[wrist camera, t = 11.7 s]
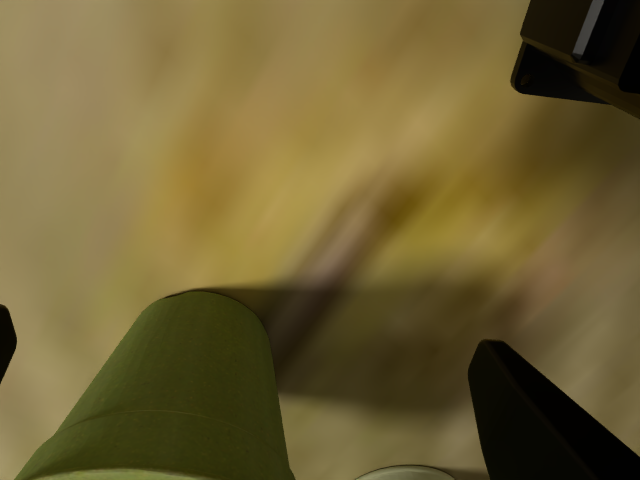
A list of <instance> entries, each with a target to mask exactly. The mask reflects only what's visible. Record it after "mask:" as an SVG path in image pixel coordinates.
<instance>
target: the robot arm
mask: <svg viewBox="0 0 640 480" xmlns="http://www.w3.org/2000/svg"><path fill="white" fill-rule="evenodd" d="M520 35H521V37H522V39H523V42H522V45H521V48H520V51H519V54H518V57H517V60H516V63H515V66H514V69H513V72H512V75H511V81H510V82H511V86H512V87H513V88H514V89H515V90H516V91H517V92H519V93H522V94H528V95H536V96H545V97H553V98H561V99H569V100H577V101H585V102H593V103H601V104H609V105H613V106H615V107H617V108H619V109H621V110H623V111H625V112H627V113H629V114H630V115H632V116H634V117H636V118H638V119H640V0H531V1H530V4H529V7H528V10H527V13H526V16H525V19H524V22H523V25H522V28H521V32H520ZM526 74H530V79H529V81H528V82H527V83H526V84H524V85H521V79H522V77H523V76H524V75H526ZM16 345H17V337H16V333H15V330H14V326H13V323H12V319H11V316H10V313H9V310H8V308H7V307H6V306H4V305H1V304H0V384H1V381H2V379H3V377H4V375H5V372H6V370H7V368H8V365H9V363H10V361H11V359H12V356H13V354H14V352H15V349H16ZM468 381H469V386H470V391H471V397H472V402H473V407H474V413H475V418H476V423H477V429H478V434H479V439H480V444H481V449H482V453H483V456H484V460H485V464H486V467H487V470H488V474H489V477H490V480H640V457H639V456H638V455H637V454H636V453H635V452H633V451H632V450H631V449H630V448H629V447H627V446H626V445H625V444H624V443H623V442H622V441H620V440H619V439H618V438H617V437H616V436H615V435H613V434H612V433H611V432H610V431H609V430H607V429H606V428H605V427H604V426H603V425H602V424H600V423H599V422H598V421H597V420H596V419H595V418H593V417H592V416H591V415H590V414H589V413H587V412H586V411H585V410H584V409H583V408H582V407H580V406H579V405H578V404H577V403H576V402H575V401H573V400H572V399H571V398H570V397H569V396H567V395H566V394H565V393H564V392H563V391H562V390H560V389H559V388H558V387H557V386H556V385H555V384H553V383H552V382H551V381H550V380H549V379H547V378H546V377H545V376H544V375H543V374H542V373H540V372H539V371H538V370H537V369H536V368H535V367H533V366H532V365H531V364H530V363H529V362H527V361H526V360H525V359H524V358H523V357H522V356H520V355H519V354H518V353H517V352H516V351H515V350H513V349H512V348H511V347H510V346H509V345H507V344H506V343H505V342H503V341H501V340H492V339H483V340H481V341H480V342H479V344H478V346H477V349H476V351H475V354H474V356H473V358H472V361H471V363H470V366H469V369H468Z"/></svg>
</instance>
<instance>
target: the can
mask: <svg viewBox="0 0 640 480" xmlns="http://www.w3.org/2000/svg"><path fill="white" fill-rule="evenodd" d="M356 480H455V479H454V478H453V477H451V476H450V475H448V474H446V473H444V472H442V471H440V470H437V469H433V468H429V467H424V466H413V465H405V466H394V467H388V468H383V469H379V470H376V471H373V472H370V473H367V474H365V475H363V476H361V477H359V478H357V479H356Z"/></svg>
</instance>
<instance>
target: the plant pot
mask: <svg viewBox="0 0 640 480" xmlns="http://www.w3.org/2000/svg"><path fill="white" fill-rule="evenodd" d="M14 480H295V477H294V475H293V473H292V471H291V469H290V467H289V461H288V455H287V449H286V443H285V437H284V430H283V424H282V417H281V411H280V405H279V398H278V392H277V385H276V379H275V372H274V365H273V359H272V353H271V347H270V341H269V338H268V335H267V333H266V331H265V329H264V327H263V325H262V323H261V321H260V320H259V318H258V317H257V316H256V315H255V314H254V313H253V312H252V311H251V310H250V309H248V308H247V307H245V306H244V305H243V304H241V303H239V302H237V301H235V300H233V299H231V298H229V297H226V296H222V295H219V294H215V293H209V292H198V291H196V292H187V293H184V294H181V295H177V296H174V297H169V298H164V299H159V300H157V301H156V302H154V303H152V304H151V305H149V306H148V307H147V308H146V309H145V310H144V311H143V312H142V313H141V314H140V316H139V317H138V318H137V320H136V321H135V322H134V324H133V325H132V327H131V328H130V329H129V331H128V332H127V334H126V335H125V336H124V338H123V339H122V340H121V342H120V343H119V345H118V346H117V347H116V349H115V350H114V352H113V353H112V354H111V356H110V357H109V359H108V360H107V361H106V363H105V364H104V366H103V367H102V368H101V370H100V371H99V373H98V374H97V375H96V377H95V378H94V380H93V381H92V383H91V384H90V385H89V387H88V388H87V390H86V391H85V392H84V394H83V395H82V396H81V398H80V399H79V401H78V402H77V403H76V405H75V406H74V408H73V409H72V410H71V412H70V413H69V415H68V416H67V417H66V419H65V420H64V422H63V423H62V424H61V426H60V427H59V429H58V430H57V431H56V433H55V434H54V436H52V437H51V438H50V439H48V440H47V441H46V442H45V443H43V444H42V445H41V446H40V447H39V448H38V449H37V450H36V452H35V453H34V454H33V456H32V457H31V458H30V459H29V461H28V462H27V463H26V465H25V466H24V467H23V469H22V470H21V471H20V473H19V474H18V475H17V477H16V478H15V479H14Z"/></svg>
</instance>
